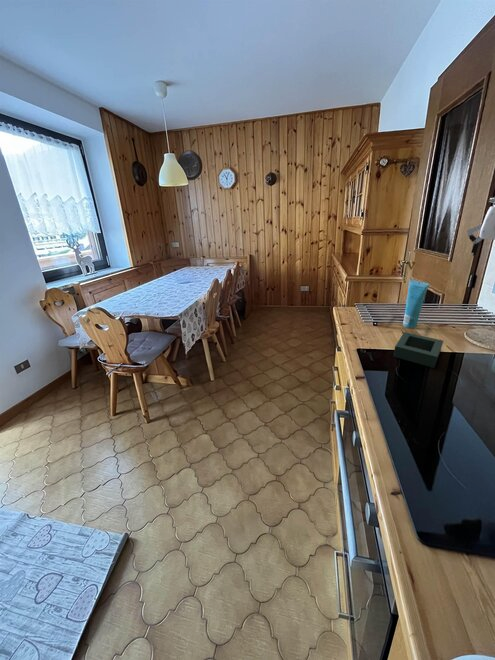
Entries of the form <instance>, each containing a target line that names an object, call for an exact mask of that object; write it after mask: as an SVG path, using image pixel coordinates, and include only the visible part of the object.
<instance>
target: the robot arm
mask: <svg viewBox="0 0 495 660" xmlns="http://www.w3.org/2000/svg"><path fill="white" fill-rule="evenodd" d="M488 203H491V204H493V205H491V206H490V207H489V208H488V210H487V212H486V214H485V217H484V219H483V222H482V224H480V225H476V226H474V227H472V228H468V229H467V232H466V233H467V234H468V236H467V237H468V239H469V240H470V241H471V242H472V244H473V245H472V248H471V251H470V252H471V254H472V257H475V256H476V255H477V252H478V248H479V245H480V242H481V241H482V240H494V241H495V196H494V197H489V200H488ZM477 231H479V235H478V236H477V237H476V236H475V235H474V232H477Z"/></svg>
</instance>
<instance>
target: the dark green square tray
mask: <svg viewBox="0 0 495 660" xmlns="http://www.w3.org/2000/svg"><path fill="white" fill-rule="evenodd" d="M443 343H444V340H442V339H438V338H433V337H429V336H424V335H420V334H416V333H411V332H408V331H404V332H403V333H402V335H401V336H400V337H399V339H398V341H397V343H396V344H395V346H394V351H393V356H392V357H394V358H396V359H400V360H404V361H408V362H410V363H415V364H419V365H422V366H426V367H430V368H432V369H435V367H436V365H437V362H438V360H439V356H440V354H441V350H442V348H443Z"/></svg>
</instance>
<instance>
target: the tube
mask: <svg viewBox="0 0 495 660" xmlns="http://www.w3.org/2000/svg"><path fill="white" fill-rule="evenodd" d="M429 286H430V283H428V282H423V281H418V280H414V279H409V283H408V290H407V291H408V292H407V297H406V305H405V311H404V317H403V322H402V326H403V327H405V328H408V329H415V328H416V327H417V325H418V322H419V318H420V315H421V311H422V307H423V304H424V300H425V297H426V294H427V291H428V289H429Z"/></svg>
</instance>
